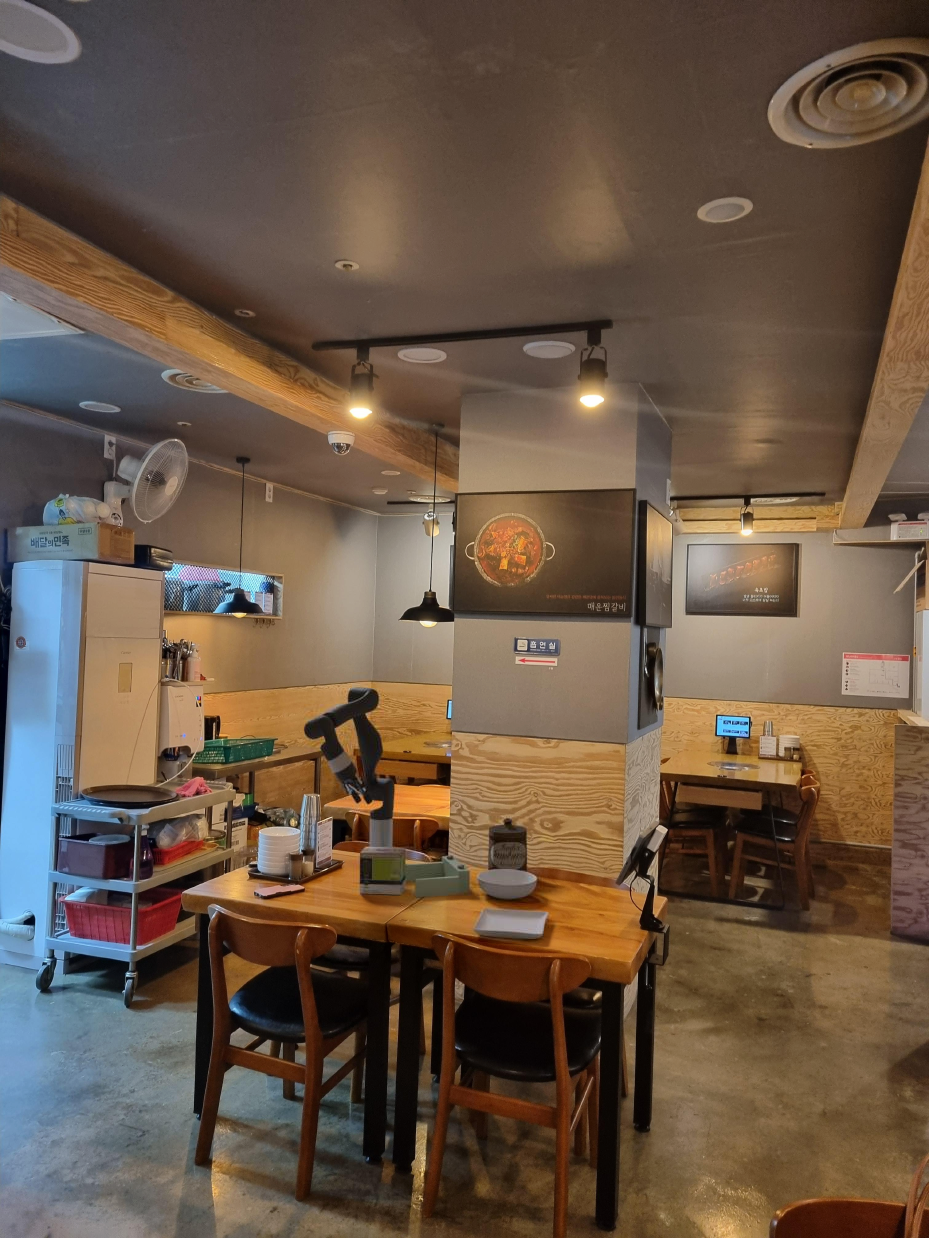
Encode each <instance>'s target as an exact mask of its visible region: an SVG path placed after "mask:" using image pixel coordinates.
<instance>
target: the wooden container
mask: <svg viewBox="0 0 929 1238" xmlns="http://www.w3.org/2000/svg"><path fill="white" fill-rule="evenodd" d="M502 822H503V824H497V825H493V826H490V827H488V857H487V865H488V866H487V870H494V869H512V870H520V871H525V872H528V842H527V841H528V840H527V839H528V837H527V836H528V833H527V827H524V826H522V825H517V824H512V823H513V820H512V819H511V818H509V817H505V818H504V819H503V820H502Z"/></svg>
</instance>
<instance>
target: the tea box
mask: <svg viewBox="0 0 929 1238" xmlns="http://www.w3.org/2000/svg"><path fill="white" fill-rule="evenodd" d="M405 864H406V847H405V846H403V847H401V846H399V847H398V846H396V847H395V846H392V847H370V846H365V847H364V848H363V849H362V850H360V852H359V894H364V895H366V894H367V895H368V894H369V895H394V896H395V895H397V896H400V895H402V894H403V892H404V890H405V888H406V882H405Z"/></svg>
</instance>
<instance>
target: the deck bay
mask: <svg viewBox="0 0 929 1238" xmlns="http://www.w3.org/2000/svg"><path fill="white" fill-rule="evenodd" d="M470 871H471V870H470V869H468V868H467V867H466V866H465V865H464V864H462V863H461V862H460V861H459V860H458V859H456V858H455V857H454V855H453V854H451V855H450V854H448V855H444V856H441V861H434V862H421V863H407V864H406V863H405V883H407V882H414V897H415V898H428V897H429V898H430V897H439V896H441V897H443V896H452V895H453V896H454V895H465V894H470V878H471V876H470V873H471V872H470Z"/></svg>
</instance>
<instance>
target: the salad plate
mask: <svg viewBox="0 0 929 1238" xmlns="http://www.w3.org/2000/svg"><path fill="white" fill-rule="evenodd" d="M548 916H549V912H548V911H537V910H536V911H535V910H526V909H525V910H521V909H502V908H483V909H482V911H481V912H480V915H479V917H478V919H477V921H476V922H475V924H474V926H473V928H472V930H473V932H474V933H476V934H477V935H480V936H484V937H491V938H503V939H513V940H514V939H516V940H536V939H539V938H541V937H542V936H543V935H544V932H545V931H544V930H545V925H546V921H547V918H548Z"/></svg>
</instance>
